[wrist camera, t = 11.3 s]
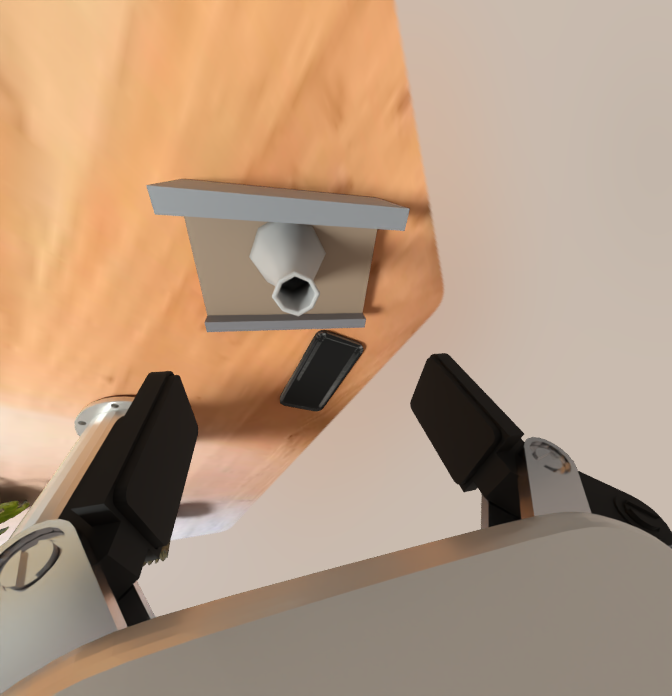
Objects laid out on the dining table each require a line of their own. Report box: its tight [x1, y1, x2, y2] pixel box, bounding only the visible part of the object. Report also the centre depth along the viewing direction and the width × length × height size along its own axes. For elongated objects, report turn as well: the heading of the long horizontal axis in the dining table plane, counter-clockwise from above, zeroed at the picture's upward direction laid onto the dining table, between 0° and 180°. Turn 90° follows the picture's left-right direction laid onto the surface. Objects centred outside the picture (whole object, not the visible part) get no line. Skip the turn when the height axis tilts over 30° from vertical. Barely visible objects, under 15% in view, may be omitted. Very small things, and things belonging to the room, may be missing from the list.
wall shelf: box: [146, 179, 410, 332], centre depth 24 cm, size 14×18×8 cm
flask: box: [249, 222, 326, 316], centre depth 21 cm, size 7×7×10 cm
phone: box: [280, 330, 363, 411], centre depth 38 cm, size 8×1×15 cm
